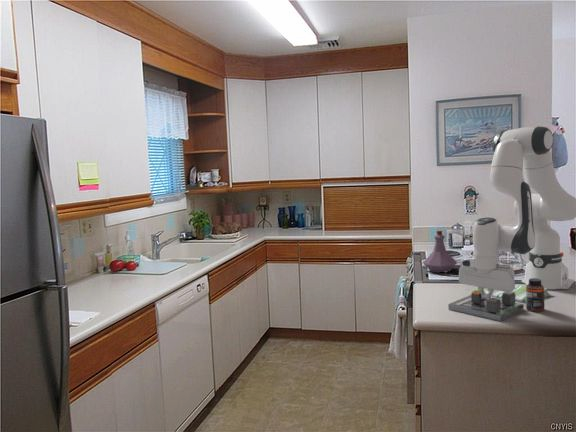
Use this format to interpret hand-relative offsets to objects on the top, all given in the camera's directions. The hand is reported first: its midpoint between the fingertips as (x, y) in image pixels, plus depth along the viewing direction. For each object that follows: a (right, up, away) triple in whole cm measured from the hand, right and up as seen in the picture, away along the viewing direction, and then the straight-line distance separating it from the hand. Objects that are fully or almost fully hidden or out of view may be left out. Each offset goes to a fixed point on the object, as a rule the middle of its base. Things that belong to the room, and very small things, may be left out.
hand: (486, 299), depth 178 cm
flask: (+3, +3, +62) cm, 62 cm away
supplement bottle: (+17, -4, -3) cm, 17 cm away
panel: (0, -4, +1) cm, 4 cm away
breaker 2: (+8, -1, -1) cm, 8 cm away
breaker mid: (-2, -1, +3) cm, 4 cm away
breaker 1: (-1, -3, -8) cm, 8 cm away
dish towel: (+18, -2, +18) cm, 26 cm away
